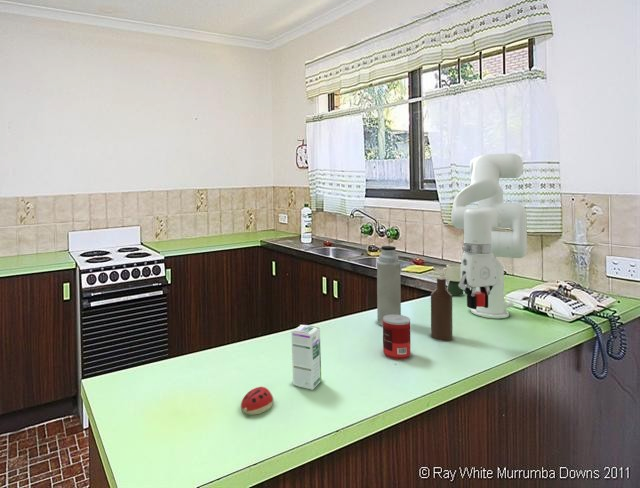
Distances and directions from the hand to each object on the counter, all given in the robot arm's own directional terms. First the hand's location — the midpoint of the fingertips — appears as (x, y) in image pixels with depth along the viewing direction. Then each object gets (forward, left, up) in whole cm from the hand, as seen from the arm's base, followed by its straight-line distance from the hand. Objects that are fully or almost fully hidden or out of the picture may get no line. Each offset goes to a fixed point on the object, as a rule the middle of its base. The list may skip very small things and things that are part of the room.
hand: (477, 306), depth 137 cm
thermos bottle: (+14, -26, -12) cm, 32 cm away
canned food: (+28, -2, -12) cm, 31 cm away
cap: (0, 0, +1) cm, 1 cm away
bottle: (+6, -9, -12) cm, 16 cm away
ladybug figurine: (+77, +13, -12) cm, 79 cm away
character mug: (-35, -48, -12) cm, 61 cm away
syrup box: (+61, +6, -12) cm, 62 cm away
